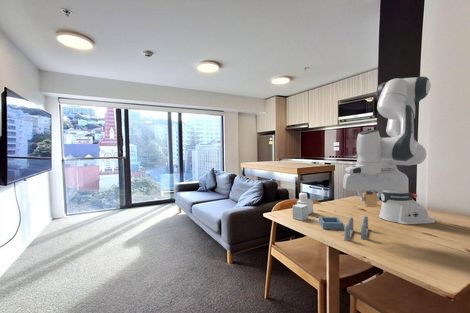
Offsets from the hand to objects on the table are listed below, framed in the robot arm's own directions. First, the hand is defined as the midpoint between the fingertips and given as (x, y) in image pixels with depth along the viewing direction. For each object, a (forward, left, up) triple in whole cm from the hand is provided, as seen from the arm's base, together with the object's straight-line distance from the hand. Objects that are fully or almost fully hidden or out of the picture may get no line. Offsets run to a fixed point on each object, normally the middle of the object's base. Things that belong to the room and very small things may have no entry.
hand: (369, 200), depth 93 cm
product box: (+26, -22, -15) cm, 38 cm away
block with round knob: (0, 0, -2) cm, 2 cm away
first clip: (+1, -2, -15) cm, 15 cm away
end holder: (+13, -11, -15) cm, 23 cm away
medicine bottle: (+22, -33, -15) cm, 43 cm away
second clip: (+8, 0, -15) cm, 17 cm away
